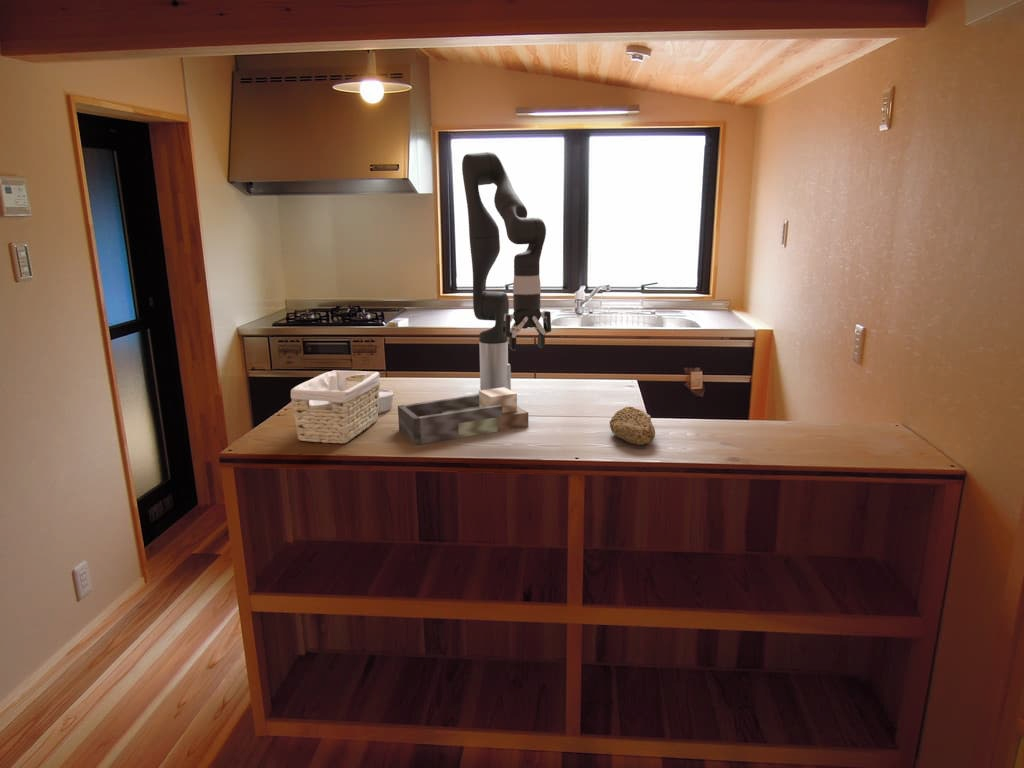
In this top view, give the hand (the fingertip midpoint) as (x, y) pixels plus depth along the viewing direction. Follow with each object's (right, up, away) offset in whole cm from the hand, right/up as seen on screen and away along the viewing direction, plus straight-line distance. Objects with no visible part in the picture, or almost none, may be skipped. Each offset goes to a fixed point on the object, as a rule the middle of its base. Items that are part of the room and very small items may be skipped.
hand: (527, 349), depth 195 cm
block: (-8, -17, 0) cm, 19 cm away
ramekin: (-46, -18, +15) cm, 52 cm away
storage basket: (-52, -23, -5) cm, 57 cm away
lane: (-18, -22, -4) cm, 29 cm away
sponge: (+28, -24, -13) cm, 39 cm away
